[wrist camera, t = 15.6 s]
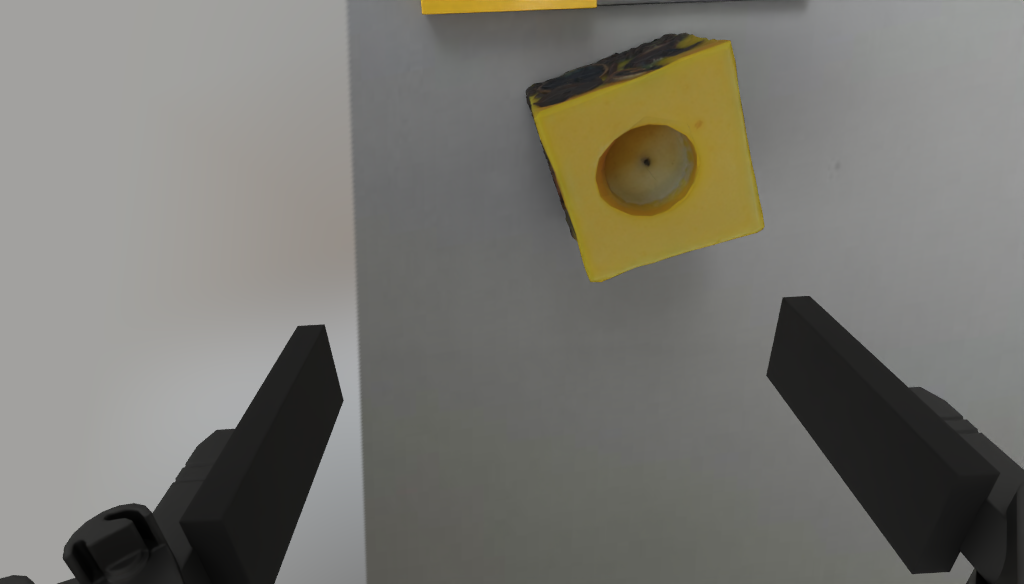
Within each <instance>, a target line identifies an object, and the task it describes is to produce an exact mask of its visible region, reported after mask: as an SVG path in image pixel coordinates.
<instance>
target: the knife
mask: <svg viewBox="0 0 1024 584" xmlns="http://www.w3.org/2000/svg"><path fill="white" fill-rule="evenodd" d="M712 1H739V0H421V7H422V14H423V15H424V14H450V13H477V12H503V11H529V10H555V9H582V8H597V6H607V5H634V4H660V3H686V2H712Z"/></svg>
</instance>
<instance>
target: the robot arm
mask: <svg viewBox="0 0 1024 584" xmlns="http://www.w3.org/2000/svg"><path fill="white" fill-rule="evenodd" d="M766 376H767V377H768V378H769V380H770V381H771V382H772V384H773V385H774V386H775V388H776V389H777V391H778V392H779V393H780V395H781V396H782V397H783V399H784V400H785V401H786V403H787V404H788V406H789V407H790V408H791V410H792V411H793V412H794V414H795V415H796V416H797V418H798V419H799V421H800V422H801V423H802V425H803V426H804V427H805V429H806V430H807V431H808V433H809V434H810V436H811V437H812V438H813V440H814V441H815V442H816V444H817V445H818V446H819V448H820V449H821V451H822V452H823V453H824V455H825V456H826V457H827V459H828V460H829V461H830V463H831V464H832V466H833V467H834V468H835V470H836V471H837V472H838V474H839V475H840V476H841V478H842V479H843V481H844V482H845V483H846V485H847V486H848V487H849V489H850V490H851V491H852V493H853V494H854V496H855V497H856V498H857V500H858V501H859V502H860V504H861V505H862V506H863V508H864V509H865V511H866V512H867V513H868V515H869V516H870V517H871V519H872V520H873V521H874V523H875V524H876V526H877V527H878V528H879V530H880V531H881V532H882V534H883V535H884V536H885V538H886V539H887V541H888V542H889V543H890V545H891V546H892V547H893V549H894V550H895V551H896V553H897V554H898V556H899V557H900V558H901V560H902V561H903V562H904V564H905V565H906V566H907V568H908V569H909V571H910V572H911V573H912V574H920V573H937V572H950V570H951V568H952V566H953V565H954V563H955V561H956V559H957V557H958V555H959V553H960V551H961V553H962V554H963V555H964V556H965V557H966V558H967V560H968V561H969V562H970V563H971V564H972V565H973V567H974V570H973V572H972V574H971V576H970V577H969V579H968V581H967V583H966V584H1024V470H1023V469H1022V468H1021V467H1020V466H1019V465H1017V464H1016V463H1015V462H1014V461H1013V460H1012V459H1011V458H1010V457H1008V456H1007V455H1006V454H1005V453H1004V452H1003V451H1002V450H1000V449H999V448H998V447H997V446H996V445H995V444H994V443H992V442H991V441H990V440H989V439H988V438H987V437H986V436H985V435H983V434H982V433H978V429H977V428H975V427H974V426H973V425H972V424H971V423H970V422H969V421H967V420H964V419H963V416H962V415H961V414H960V413H958V412H957V411H956V410H955V409H954V408H953V407H952V406H950V405H949V404H948V403H947V402H946V401H945V400H943V399H941V398H939V397H938V396H936V395H934V394H932V393H930V392H928V391H927V390H925V389H923V388H921V387H911V388H908V387H907V386H906V385H905V384H904V383H903V382H902V381H901V380H900V379H899V378H898V377H896V376H895V375H894V374H893V373H892V372H891V371H890V370H889V369H888V368H887V367H886V366H885V365H883V364H882V363H881V362H880V361H879V360H878V359H877V358H876V357H875V356H874V355H873V354H872V353H871V352H869V351H868V350H867V349H866V348H865V347H864V346H863V345H862V344H861V343H860V342H859V341H858V340H856V339H855V338H854V337H853V336H852V335H851V334H850V333H849V332H848V331H847V330H846V329H845V328H844V327H842V326H841V325H840V324H839V323H838V322H837V321H836V320H835V319H834V318H833V317H832V316H831V315H829V314H828V313H827V312H826V311H825V310H824V309H823V308H822V307H821V306H820V305H819V304H818V303H817V302H815V301H814V300H813V299H812V298H811V297H810V296H801V297H784V298H783V299H782V304H781V308H780V313H779V318H778V323H777V328H776V332H775V337H774V342H773V347H772V351H771V356H770V361H769V366H768V370H767V375H766ZM342 403H343V397H342V393H341V389H340V385H339V381H338V377H337V373H336V368H335V365H334V360H333V356H332V352H331V348H330V345H329V341H328V336H327V332H326V329H325V325H308V326H298V327H297V328H296V330H295V331H294V333H293V335H292V336H291V338H290V340H289V341H288V343H287V345H286V346H285V348H284V350H283V351H282V353H281V355H280V356H279V358H278V360H277V361H276V363H275V364H274V366H273V368H272V369H271V371H270V373H269V374H268V376H267V378H266V379H265V381H264V383H263V384H262V386H261V387H260V389H259V391H258V392H257V394H256V396H255V397H254V399H253V401H252V402H251V404H250V405H249V407H248V409H247V410H246V412H245V414H244V415H243V417H242V419H241V420H240V422H239V424H238V425H237V427H236V429H225V430H216V431H215V432H214V433H212V434H211V435H210V436H209V437H208V438H206V439H205V440H204V441H203V442H202V443H200V444H199V445H198V446H197V447H196V449H195V450H194V452H193V453H192V455H191V457H190V458H189V459H188V461H187V462H186V466H185V467H184V468H182V470H181V471H180V473H179V475H178V476H177V477H176V481H175V482H174V483H172V485H171V486H170V488H169V489H168V491H167V492H166V494H165V495H164V497H163V498H162V500H161V501H160V503H159V504H158V506H157V507H156V509H155V510H154V512H153V513H152V512H151V511H150V510H149V509H148V508H147V507H146V506H144V505H140V504H135V503H133V504H126V505H119V506H117V507H114V508H111V509H109V510H106V511H104V512H102V513H100V514H98V515H97V516H95V517H93V518H92V519H90V520H89V521H87V522H86V523H85V524H83V525H82V526H81V527H80V528H79V529H78V530H77V531H76V532H75V533H74V534H73V535H72V536H71V538H70V539H69V541H68V542H67V544H66V545H65V547H64V553H63V560H64V561H65V563H66V564H67V565H68V567H69V568H70V570H71V571H72V573H73V574H74V576H75V577H76V578H73V579H70V580H67V581H64V582H61V583H58V584H274V583H275V580H276V578H277V575H278V572H279V570H280V567H281V564H282V561H283V559H284V556H285V554H286V551H287V549H288V546H289V543H290V541H291V538H292V535H293V533H294V530H295V527H296V524H297V522H298V519H299V517H300V514H301V512H302V509H303V506H304V504H305V501H306V498H307V496H308V493H309V490H310V488H311V485H312V482H313V480H314V477H315V474H316V472H317V469H318V467H319V464H320V461H321V459H322V456H323V453H324V451H325V448H326V445H327V443H328V440H329V437H330V435H331V432H332V430H333V427H334V424H335V422H336V419H337V416H338V414H339V411H340V408H341V406H342ZM0 584H34V582H33V581H31V580H30V579H29V578H28V577H27V576H17V575H12V576H9V577H5V578H1V579H0Z"/></svg>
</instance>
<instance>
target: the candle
mask: <svg viewBox="0 0 1024 584" xmlns="http://www.w3.org/2000/svg"><path fill="white" fill-rule="evenodd" d="M526 95H527V96H526V98H527V103H528V105H529V107H530V110H531V112H532V116H533V119H534V121H535V125H536V128H537V131H538V134H539V136H540V139H541V140H540V141H541V144H542V147H543V149H544V154H545V156H546V159H547V161H548V164H549V169H550V171H551V175H552V177H553V180H554V183H555V185H556V188H557V191H558V194H559V197H560V201H561V204H562V207H563V209H564V210H565V213H566V221H567V223H568V225H569V227H570V232H571V235H572V237H573V238H574V239H575V240H577V242H578V245H579V249H580V253H581V257H582V260H583V263H584V266H585V270H586V273H587V275H588V277H589V280H590V282H603V281H605V280H607V279H610V278H612V277H615V276H617V275H619V274H622V273H624V272H626V271H628V270H631V269H633V268H635V267H639V266H643V265H648V264H652V263H655V262H658V261H661V260H663V259H666V258H669V257H673V256H676V255H679V254H682V253H686V252H689V251H692V250H696V249H700V248H703V247H707V246H711V245H715V244H718V243H722V242H725V241H729V240H732V239H736V238H739V237H743V236H747V235H750V234H754V233H757V232H759V231H761V230H762V229H763V228H764V220H763V213H762V209H761V204H760V200H759V195H758V190H757V184H756V179H755V174H754V170H753V166H752V161H751V156H750V150H749V145H748V139H747V134H746V128H745V122H744V116H743V110H742V104H741V99H740V93H739V87H738V79H737V70H736V62H735V58H734V54H733V49H732V45H731V41H730V40H715V39H712V40H708V39H707V38H700V37H696V36H694V35H692V34H691V35H689V34H687V33H683V34H679V35H676V34H667V35H664V36H663V37H662V38H660V39H656V40H654V41H653V42H651V43H644V44H642V45H640V46H639V47H637V48H631V49H630V50H628V51H625V52H622V53H620V54H618V53H615V54H614V55H611V56H610V57H607V58H604V59H602V60H600V61H598V62H597V63H594V64H591V65H587V66H583V67H580V68H577V69H575V70H572V71H568V72H566V73H565V74H564V75H562V76H560V77H558V78H555V79H551V80H547V81H546V82H544V83H537V84H533V85H532V86H530V87H529V88H528V89H527V90H526Z"/></svg>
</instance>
